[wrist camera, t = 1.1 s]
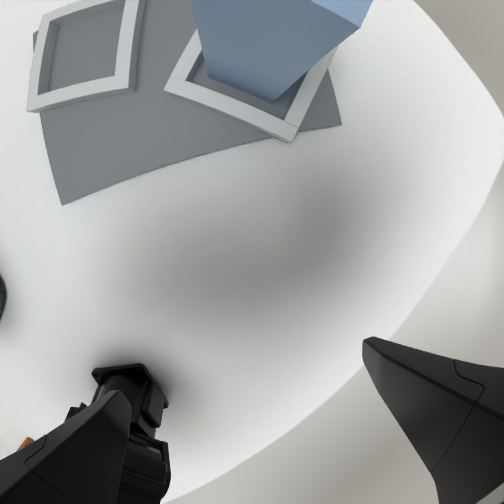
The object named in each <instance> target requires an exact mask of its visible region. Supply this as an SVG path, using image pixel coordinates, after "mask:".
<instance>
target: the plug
mask: <svg viewBox="0 0 504 504" xmlns="http://www.w3.org/2000/svg"><path fill="white" fill-rule="evenodd" d="M372 1H373V0H191V4H192V8H193V13H194V17H195V21H196V26H197V30H198V34H199V39H200V43H201V47H202V52H203V56H204V60H205V65H206V69H207V73H208V78H211V79H213V80H216V81H219V82H221V83H224V84H227V85H229V86H232V87H234V88H237V89H239V90H242V91H244V92H246V93H249V94H251V95H254V96H256V97H258V98H260V99H263V100H265V101H267V102H269V103H273V102H274V101H275V100H276V99H277V98H278V97H279V96H280V95H281V94H282V93H284V92H285V91H286V90H287V89H288V88H289V87H290V86H291V85H292V84H293V83H294V82H295V81H297V80H298V79H299V78H300V77H301V76H302V75H303V74H304V73H306V72H307V71H308V70H309V69H310V68H311V67H312V66H314V65H315V64H316V63H317V62H318V61H319V60H321V59H322V58H323V57H324V56H325V55H326V54H328V53H329V52H330V51H331V50H332V49H334V48H335V47H336V46H337V45H339V44H340V43H341V42H342V41H344V40H345V39H346V38H347V37H349V36H350V35H351V34H353V33H354V32H355V31H356V30H358V29H359V28H360V27H361V25H362V23H363V20H364V18H365V16H366V14H367V12H368V10H369V8H370V5H371V3H372Z"/></svg>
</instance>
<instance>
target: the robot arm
mask: <svg viewBox="0 0 504 504" xmlns="http://www.w3.org/2000/svg"><path fill="white" fill-rule="evenodd" d="M362 358H363V362H364V364H365V366H366V368H367V370H368V372H369V375H370V376H371V378H372V381H373V383H374V385H375V387H376V389H377V391H378V393H379V394H380V396H381V397H382V399H383V400H384V402H385V403H386V405H387V406H388V408H389V409H390V411H391V412H392V414H393V416H394V417H395V419H396V420H397V422H398V423H399V425H400V426H401V428H402V429H403V431H404V432H405V434H406V436H407V437H408V439H409V440H410V442H411V443H412V445H413V447H414V448H415V450H416V451H417V453H418V454H419V456H420V458H421V459H422V460H423V462H424V464H425V466H426V467H427V469H428V470H429V472H430V473H431V475H432V477H433V479H434V481H435V484H436V488H437V493H438V499H439V504H504V368H500V367H492V366H485V365H479V364H474V363H470V362H465V361H461V360H457V359H454V360H453V359H451V358H448V357H444V356H440V355H437V354H433V353H429V352H426V351H422V350H418V349H415V348H411V347H408V346H404V345H401V344H398V343H394V342H391V341H387V340H384V339H381V338H377V337H370V338H367V339H364V340H363V347H362ZM140 369H141V370H140ZM91 374H92V376H93V378H94V379H95V380H96V382H97V383H98V384H99V385H98V387H97V390H96V392H95V395H94V397H93V399H92V402H91V405H89V406H88V407H87V405H86V404H84V403H82V402H81V404H80V407H79V408H78V407H70V410H69V412H68V414H67V417H66V419H65V421H64V423H63V424H61V425H60V426H58V427H57V428H55V429H54V430H52V431H51V432H49V433H48V434H47V435H44V436H42V437H41V438H39V439H38V440H36V441H35V442H33V443H31V444H30V445H28V446H26V447H24V448H23V449H21V450H19V451H17V452H15V453H13V454H11V455H9V456H7V457H5V458H4V459H2V460H0V504H160V501H161V499H162V498H163V497H164V496H165V494H166V493H167V490H168V488H169V485H170V480H171V470H170V461H169V452H168V443H167V442H164V441H159V440H157V439H154V438H155V432H156V428H159V427H160V425H161V419H162V413H163V409H165V408H168V402H167V400H166V399H165V396H164V395H163V393H162V392H161V390H160V389H159V387H158V386H157V384H156V383H155V382H154V381H153V379H152V378H151V376H150V374H149V373H148V371H147V370H146V368H145V367H144V366H143V365H142V364H135V365H127V366H120V367H111V368H102V369H94V370H93V371H92V373H91Z"/></svg>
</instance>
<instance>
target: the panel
mask: <svg viewBox="0 0 504 504" xmlns="http://www.w3.org/2000/svg"><path fill="white" fill-rule="evenodd" d="M337 47H338V45H337V46H336V47H335V48H334V49H332V50H331V51H330V52H329V53H328V54H326V55H325V56H324V57H323V58H322V59H321V60H319V61H318V62H317V63H316V64H315V65H314V66H312V67H311V68H310V69H309V70H308V71H307V72H306V73H304V74H303V75H302V76H301V77H300V78H299V79H298V80H297V81H295V82H294V83H293V84H292V85H291V86H290V87H289V88H288V89H287V90H286V91H285V92H284V93H282V94H281V95H280V96H279V97H278V98H277V99H276V100H275V101H274V102H273V103H269V102H267V101H265V100H263V99H260V98H258V97H256V96H254V95H251V94H249V93H246V92H244V91H242V90H239V89H237V88H234V87H232V86H229V85H227V84H224V83H221V82H219V81H216V80H213V79H211V78H208V73H207V69H206V65H205V60H204V56H203V52H202V47H201V43H200V39H199V34H198V30H197V26H196V21H195V17H194V13H193V8H192V4H191V0H81V1H78V2H75V3H72V4H69V5H67V6H64V7H61V8H59V9H56V10H54V11H51V12H49V13H47V14H44V15H43V16H42V20H41V24H40V28H39V30H38V31H36V32H35V33H33V49H34V56H33V61H32V67H31V74H30V82H29V91H28V101H27V112H34V113H39V112H40V118H41V124H42V129H43V134H44V139H45V144H46V149H47V153H48V157H49V162H50V166H51V170H52V173H53V177H54V181H55V184H56V188H57V191H58V194H59V198H60V201H61V204H62V206H63V205H65V204H67V203H70V202H72V201H74V200H76V199H79V198H81V197H83V196H86V195H88V194H90V193H93V192H95V191H98V190H100V189H103V188H105V187H108V186H110V185H113V184H115V183H118V182H121V181H123V180H126V179H129V178H131V177H134V176H137V175H140V174H143V173H145V172H148V171H151V170H154V169H157V168H160V167H163V166H166V165H169V164H172V163H176V162H179V161H182V160H185V159H189V158H192V157H195V156H199V155H202V154H206V153H209V152H213V151H217V150H220V149H224V148H228V147H232V146H236V145H240V144H244V143H248V142H253V141H257V140H261V139H266V138H271V137H276V138H278V139H280V140H282V141H284V142H286V143H288V142H292V141H293V139H294V137H295V135H296V132H301V131H306V130H312V129H318V128H324V127H331V126H338V125H342V123H341V118H340V114H339V110H338V106H337V102H336V98H335V94H334V90H333V86H332V82H331V79H330V75H329V72H328V66H329V64H330V62H331V60H332V58H333V56H334V54H335V52H336V49H337Z"/></svg>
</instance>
